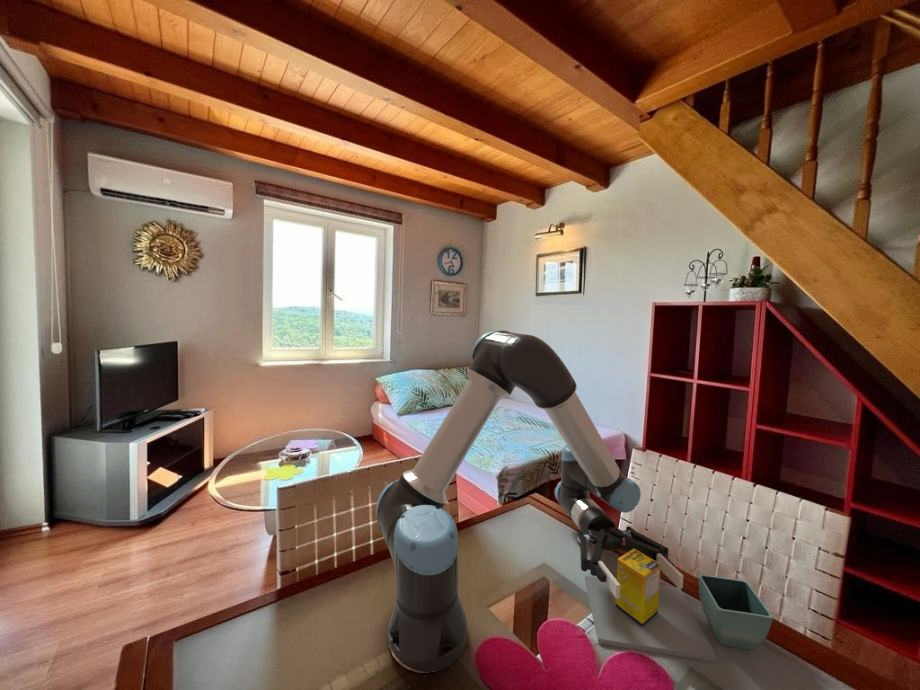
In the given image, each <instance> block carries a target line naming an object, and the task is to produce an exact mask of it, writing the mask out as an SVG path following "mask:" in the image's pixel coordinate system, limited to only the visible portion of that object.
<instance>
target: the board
mask: <svg viewBox="0 0 920 690" xmlns="http://www.w3.org/2000/svg"><path fill="white" fill-rule="evenodd" d="M584 580H585V585H586V591H587V597H588V601H589V605H590V612H591V614H592V621H593V624H594V630H595V634H596V639H597V644H599V645H607V646H612V647H620V648H625V649H631V650H632V649H633V650H637V651H645V652H650V653H657V654H664V655H670V656H676V657H680V658H681V657H683V658H688V659H693V660H694V659H695V660H701V661H707V662H708V661H709V662H714V663H717V654H716V653H715V651H714V649H713V647H712V645H711V644H710V642H709V640H708V638H707V636H706V634H705V632H704V631H703V629H702V626H701V625H700V623H699V621H698V619H697V617H696V616H695V613H694V611H693V610H692V608H691V606H690V604H689V603H688V600H687V598H686V597H685V595H684V593H683V591H682V589H679V588H678V587H677V586H668V585H661V584H660V585H659V600H658V613H657V614H656V615H655V616H654V617H653V618H652V619H651V620H650V621H648V622H647V623H646V624H645V625H644V626H643V627H641V626H640V625H639V624H637V623H636V622H635V621H633V620H632V619H631V618H629V617H628V616H627V615H625V614H624V613H623V612H622V611H620V610H619V609H618V608H616V598H615V596H614V595H613V594H612V592H611V591H610V590H609V588H608V587H607V585H606V584H605V583H604V582H601V581H599V579H598V578H597V576H592V575H585V576H584Z"/></svg>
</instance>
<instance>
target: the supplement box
mask: <svg viewBox="0 0 920 690" xmlns="http://www.w3.org/2000/svg"><path fill="white" fill-rule="evenodd" d="M616 569H617V570H616V571H617V572H616V580H617V581H618V583H619V584H620V598H616V608H618V609H619V610H620V611H622V612H623V613H624V614H625V615H627V616H628V617H629V618H631V619H632V620H633V621H635V622H636V623H637V624H639V625H640V626H641V627H643V626H644V625H645V624H646V623H647V622H648V621H650V620H651V619H652V618H653V617H654V616H655V615H656V614H657V613H658V600H659V585H661V583H660V582H661V564H660V563H658V562H656V561H655V560H653V559H651V558H649V557H648V556H646V555H644V554H643V553H641V552H639V551H638V550H636V549H634V548H633V549H632V550H631V551H628V552H626V553H624V554H623V555H621V556H619V558H617V567H616Z"/></svg>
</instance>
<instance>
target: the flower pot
mask: <svg viewBox="0 0 920 690" xmlns="http://www.w3.org/2000/svg"><path fill="white" fill-rule="evenodd" d="M698 590H699V592H698V593H699V600H700V604H701V608H702V611H703V613H704V616H705V617H706V620H707V622H708V623H709V626H710V628H711V629H712V630H711V631H713V633H714V635H715V637H716V640H717V641H718V643H719V644H720V645H722V646H727V647H732V648H738V649H744V650H745V649H746V650H752V649H755V648H757V647H759V646H761V645H762V644H763V642H764V641H765V640H766V638H767V636H768V634H769V632H770V631H769V630H770V628H771V625H772V623H773V619H774V616H773V614H772V612H771V611H770V610H769V608H768V607H767V606H766V605H765V603H764V602H763V601H762V599H761V598H760V597H759V595H758V593H756V592H755V590H754V589H753V587H752V586H751V584H750V583H749V582H748V581H747V580H743V579H737V578H728V577H721V576H715V575H708V574H698Z"/></svg>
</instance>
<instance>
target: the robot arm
mask: <svg viewBox="0 0 920 690" xmlns="http://www.w3.org/2000/svg"><path fill="white" fill-rule="evenodd" d="M470 355H471V363H470V365H469V367H468V368H467V370H466V372H467V377H468V380H467V382H466V384H465V385H464V387H463V388H462V390H461V391H460V393H459V395H458V397H457V398H456V399H455V401H454V403H453V405H452V406H451V408H450V410H449V411H448V413H447V414H446V416H445V418H444V420H442V423H441V424H440V426H439V428H438V429H437V430H436V431H435V433H434V435H433V437H432V438H431V440H430V442H429V443H428V445H427V447H426V448H425V450H424V452H423V453H422V455H421V456H420V458H419V459H418V461H417V462H416V465H415V466H414V468H413V469H409V470H406V471H403V473H402V474H401V475H400V477H399V479H396V480H395V481H391V482H390V483H389V484H387V485H386V486H385V487H384V488H383V490H382V491H381V492H380V494H379V496H378V499H377V502H376V506H375V507H376V508H375V512H376V513H375V514H376V519H377V523H378V528H379V530H380V532H381V533H382V536H383V538H384V540H385V543H386V546H387V548H388V551H389V554H390V556H391V558H392V561H393V564H394V571H395V588H396V589H395V596H396V600H395V603H394V606H393V609H392V613H391V616H390V618H389V623H388V626H387V627H388V629H387V642H388V641H389V645H390V648H391V650H392V651H393V653H394V654H395V656H396V657H397V658H398V659H399V660H400V661H401V662H402V663H403V664H405V665H406V666H408V667H410V668H412V669H415V670H417V671H421V672H422V671H423V672H432V671H438V670H441V671H443V670H445V669H446V667H447V666H448V667H450V666H452V665H453V664H454V663H455V662H456V661H457V660H458V659H459V658H460V656H461V655H462V653H463V652H462V651H464V650H463V649H465V647H466V644H467V641H466V640H467V639H468V622H467V616H466V614H465V610H464V608H463V605H462V603H461V599H460V597H459V595H458V594H459V593H458V592H459V590H458V589H459V588H458V587H459V585H458V584H459V581H458V580H459V577H458V576H459V569H458V568H459V537H458V535H459V534H458V529H457V524H456V522H455V520H454V518H453V516H452V515H451V514H450V513H449V512H448V511H447V510H445V509H444V507H445V504H446V503H447V500H448V499H447V495H446V490H447V488H448V486H449V485H450V483H451V482H452V480H453V479H454V477H455V475H456V473H457V472H458V470H459V468H460V466H461V464H462V463H463V462H464V460H465V458H466V456H467V454H469V451H470V450H471V448H472V446H473V445H474V443H475V442H476V440H477V439H478V436H479V435H480V433H481V432H482V429H483V428H484V427H485V425H486V423H487V421H488V419H489V418H490V417H491V415H492V413H493V411H494V410H495V408H496V407H497V405H498V403H499V402H500V400H501V399H504V398H505V399H506V398H509V397H511V394H512V393H513V391H514V389H515V387H516V388H518V389H519V390H521V391H523V392H524V394H526V395H528V396H529V397H530V399H531V400H532V401H533V403H534V404H535V406H536V407H538V408H539V409H542V410H544V411H545V413H546V414H547V416H548V417H549V419H550V420H551V422H552V424H553V426H554V427H555V429H556V430H557V431H558V434H559V435H560V437H561V438H562V440H563V441H564V442H565V445H564V446H563V447H562V454H561V459H560V461H561V476H560V477H561V480H560V481H559V482H558V483H557V485H556V487H555V488H554V496H555V499H556V500H557V502H558V504H559V507H561V509H563V510H564V512H566V514H567V515H568V516H569V518H570V519H571V520H572V522H573V523H574V524H575V525H576V526H577V527H578V529H579V530H580V531H577V544H578V546H579V549H580V550H579V552H580V569H581V571H582V572H587V571H590V572H589V574H590V576H592V577H597V578H598V579H599V581H601V582H604V583H605V584H606V585H607V587H608V588H609V590H610V591H611V592H612V594H613V595H614V596H615V598H620V584H619V583H618V581H617V578H616V577H615V576H614V575H613V573H611V571H610V570H609V568H608V567H607V566H606V565H605V563H604V562H603V561H602V560H601V558H602V555H603V554H604V550H605V551H607V552H610V551H613V550H614V551H615V550H616V551H618V550H621V551H623V552H626V553H628V552H629V551H631V550H632V549H633V548H634V549H636V550H638V551H639V552H641V553H643V554H644V555H646V556H648V557H649V558H651V559H653V560H655V561H656V562H658V563H660V564H661V570H660V572H662V573H663V574H664V576H666V577H667V578H668V579H669V580H670V581H671V582H672V584H674V585H675V587H678V588H679V589H681V590H682V589H683V587H684V575H683V574H682V573H681V571H679V569H677V568H676V566H675V564H674V563H673V562H672V560H670V559H669V553H670V551H669V549H670V548H668V547H667V546H665V545H663V544H661V543H659V542H657V541H655V540H654V539H652V538H650V537H648V536H645V535H644V534H642V533H640V532H638V531H636V530H635V529H634V528H633V527H631V526H628V525H627V526H626V528H625V529H624V530H621V529H620V528H618V527H616V524H615V522H614V521H613V519H612V518H611V517H610V516H609V515H608V514H607V513H606V512H605V511H604V510H603V509H602V507H600V506H599V505H598V504H597V503H596V502H595V500H593V498H592V497H590V494H593V496H595V497H597V498H598V499H600V500H601V501H603V502H604V503H606V504H608V506H610V507H611V508H613V509H616V510H617V511H619V512H621V513H630V512H632V511H634V509H635V508H636V507H637V505H638V504H639V503H640V501H641V494H642V493H641V489H640V486H639V485H638V484H637V483H636V482H634V481H632V479H631V478H629V477H626V476H625V475H624V474H623V473H622V471H621V469H620V468H619V465H618V464H617V462H616V460H615V459H614V457H613V455H612V453H611V452H610V450H609V448H608V446H607V445H606V443H605V442H604V440H603V438H602V436H601V434H600V433H599V431H598V429H597V428H596V426H595V424H594V423H593V420H592V418H591V417H590V415H589V413H588V412H587V410H586V408H585V407H584V405H583V403H582V401H581V399H580V398H579V396H578V394H577V393H576V391H577V387H578V386H577V385H578V384H577V383H576V381H575V379H574V377H573V375H572V374H571V372H570V370H569V369H568V368H567V366H566V365H565V363H564V362H563V360H562V359H561V358H560V356H559V355H558V354H557V353H556V351H555V350H554V349H553V348H552V347H551V346H550V345H549V344H548V343H547V342H545V341H544V340H542V339H540V338H539V337H537V336H535V335H531V334H523V333H515V332H511V331H509V330H492V331H489V332H486V333H484V334H482V335H481V336H480V337H478V339H477V340H476V341H475V343H474V344H473V346H472V349H471V354H470ZM623 541H624V544H623ZM588 543H590V544H592V545H594V546H595V547H594V550H593V552H592V555H591V558H590V559H588V547H587V545H588ZM389 645H388V646H389ZM460 654H461V655H460ZM457 658H458V659H457ZM448 667H447V668H448ZM444 668H445V669H444ZM442 669H443V670H442ZM438 672H439V671H438Z"/></svg>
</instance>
